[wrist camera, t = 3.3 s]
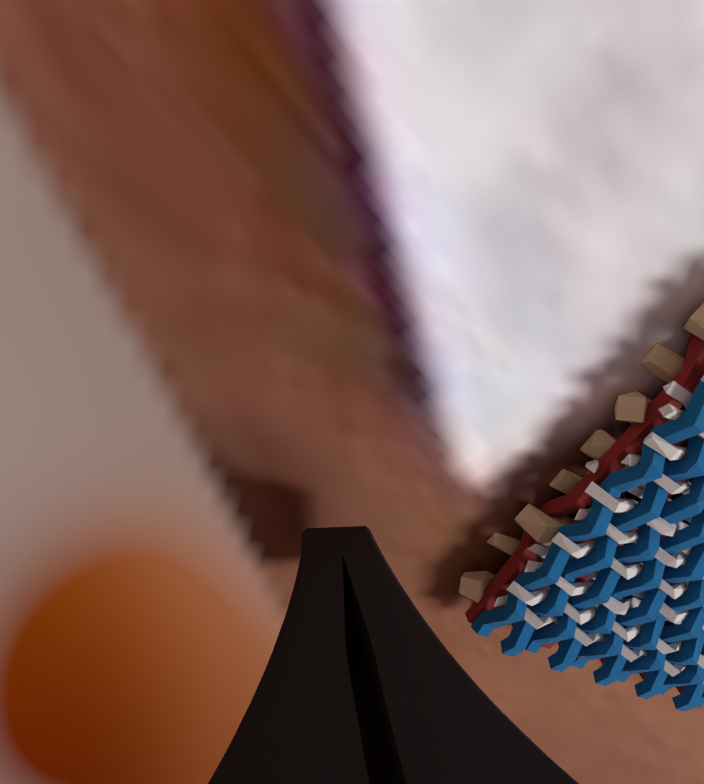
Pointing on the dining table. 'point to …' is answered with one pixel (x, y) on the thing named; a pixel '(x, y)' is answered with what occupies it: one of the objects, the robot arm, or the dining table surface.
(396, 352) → the dining table surface
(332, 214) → the dining table surface
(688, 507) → the woven mat
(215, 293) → the dining table surface
